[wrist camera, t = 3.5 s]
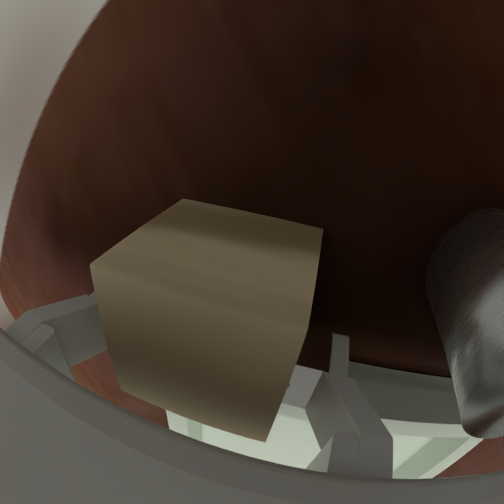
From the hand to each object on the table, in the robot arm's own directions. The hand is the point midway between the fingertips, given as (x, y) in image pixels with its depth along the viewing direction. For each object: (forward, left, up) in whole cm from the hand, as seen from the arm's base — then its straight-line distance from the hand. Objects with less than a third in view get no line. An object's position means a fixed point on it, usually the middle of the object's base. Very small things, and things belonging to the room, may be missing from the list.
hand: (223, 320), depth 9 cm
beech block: (-1, 0, -2) cm, 2 cm away
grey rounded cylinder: (-3, +8, -2) cm, 9 cm away
